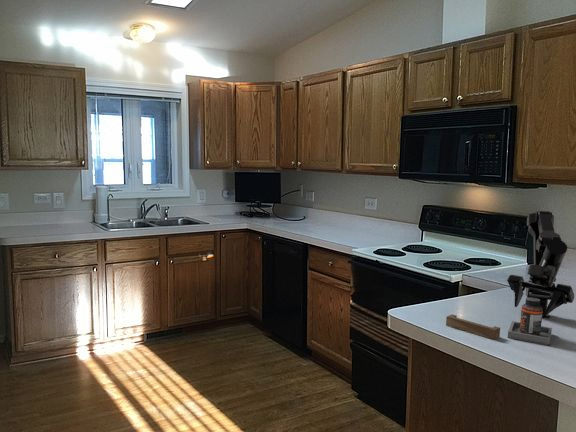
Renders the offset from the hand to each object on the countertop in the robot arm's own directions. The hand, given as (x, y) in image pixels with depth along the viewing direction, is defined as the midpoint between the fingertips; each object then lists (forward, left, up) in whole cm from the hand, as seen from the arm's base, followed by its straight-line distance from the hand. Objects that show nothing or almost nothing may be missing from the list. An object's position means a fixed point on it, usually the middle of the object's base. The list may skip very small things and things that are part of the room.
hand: (530, 310), depth 155 cm
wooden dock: (-2, -16, -9) cm, 19 cm away
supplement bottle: (-1, +1, -8) cm, 8 cm away
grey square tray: (-1, +1, -9) cm, 9 cm away
